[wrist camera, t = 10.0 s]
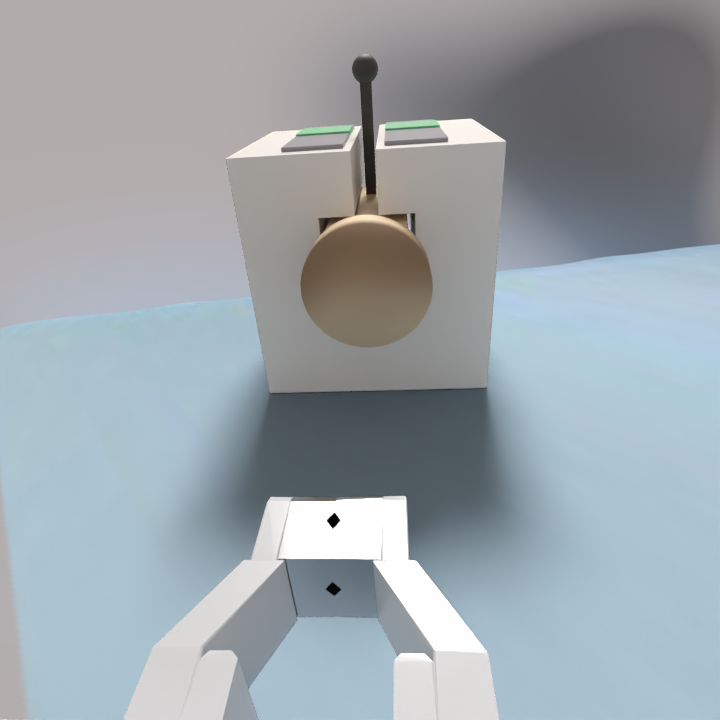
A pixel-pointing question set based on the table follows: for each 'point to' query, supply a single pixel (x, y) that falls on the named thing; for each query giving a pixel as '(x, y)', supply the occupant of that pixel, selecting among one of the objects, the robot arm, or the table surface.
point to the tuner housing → (395, 196)
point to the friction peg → (367, 260)
